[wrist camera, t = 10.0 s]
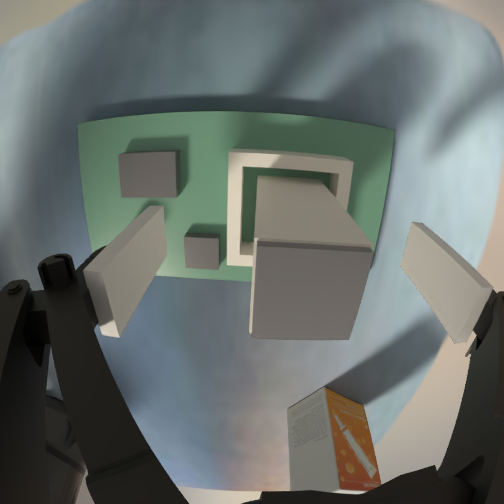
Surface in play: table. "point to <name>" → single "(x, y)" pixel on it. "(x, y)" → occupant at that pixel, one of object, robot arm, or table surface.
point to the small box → (330, 445)
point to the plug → (305, 262)
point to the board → (222, 178)
